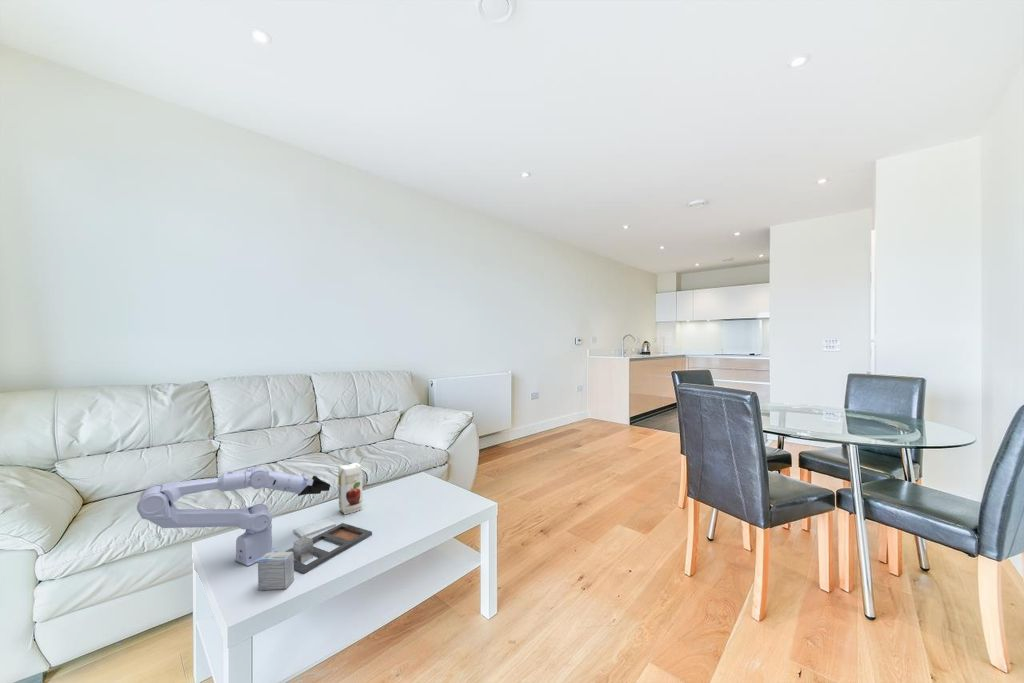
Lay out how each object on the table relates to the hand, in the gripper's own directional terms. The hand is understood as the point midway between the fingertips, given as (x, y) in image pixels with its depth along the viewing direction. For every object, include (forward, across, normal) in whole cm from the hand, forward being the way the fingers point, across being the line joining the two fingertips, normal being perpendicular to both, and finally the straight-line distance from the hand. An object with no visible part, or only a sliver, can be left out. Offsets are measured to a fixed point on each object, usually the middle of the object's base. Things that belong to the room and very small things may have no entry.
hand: (325, 489), depth 138 cm
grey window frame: (+5, -3, +19) cm, 19 cm away
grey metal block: (-2, -4, +23) cm, 23 cm away
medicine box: (-10, -12, +30) cm, 34 cm away
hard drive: (+5, +13, +12) cm, 19 cm away
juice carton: (+19, +18, +3) cm, 26 cm away
